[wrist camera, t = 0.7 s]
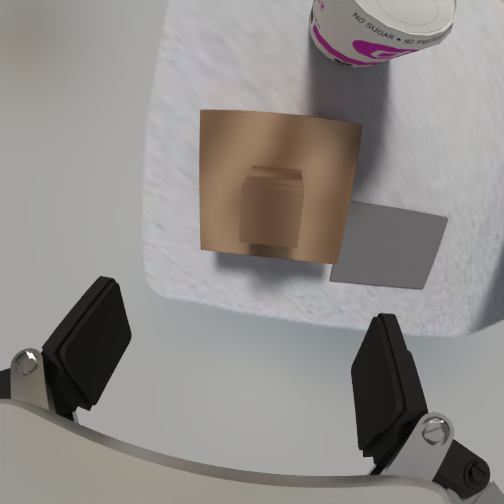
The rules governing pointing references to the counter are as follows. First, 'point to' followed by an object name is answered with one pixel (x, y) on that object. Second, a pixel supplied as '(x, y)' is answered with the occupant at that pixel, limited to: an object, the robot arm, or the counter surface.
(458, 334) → the counter surface
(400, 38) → the supplement can
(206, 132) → the lid
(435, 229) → the mat
